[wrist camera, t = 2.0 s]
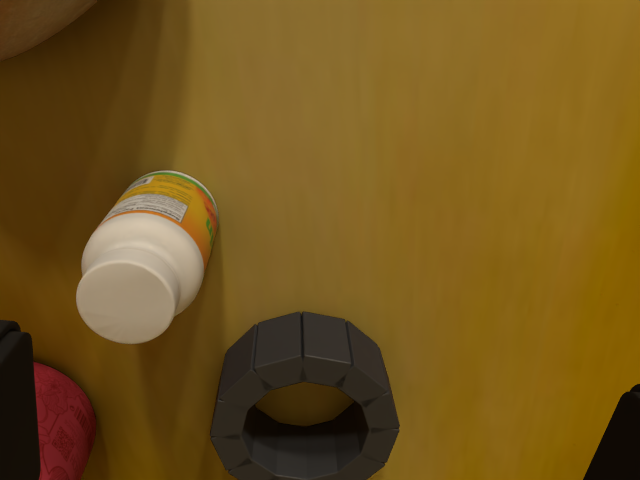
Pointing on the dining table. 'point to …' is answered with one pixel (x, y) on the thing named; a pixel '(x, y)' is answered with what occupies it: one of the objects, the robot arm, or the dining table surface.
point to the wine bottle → (62, 425)
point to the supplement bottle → (147, 257)
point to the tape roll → (294, 367)
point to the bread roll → (35, 22)
